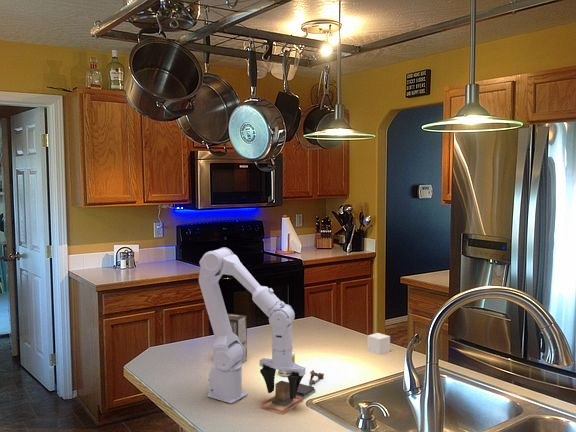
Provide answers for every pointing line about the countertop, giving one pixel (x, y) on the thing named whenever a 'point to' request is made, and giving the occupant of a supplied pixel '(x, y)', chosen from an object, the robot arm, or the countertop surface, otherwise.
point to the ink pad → (304, 391)
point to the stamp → (282, 394)
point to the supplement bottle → (284, 373)
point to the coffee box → (240, 330)
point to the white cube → (378, 343)
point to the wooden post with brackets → (315, 375)
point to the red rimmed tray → (278, 408)
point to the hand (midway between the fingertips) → (281, 394)
